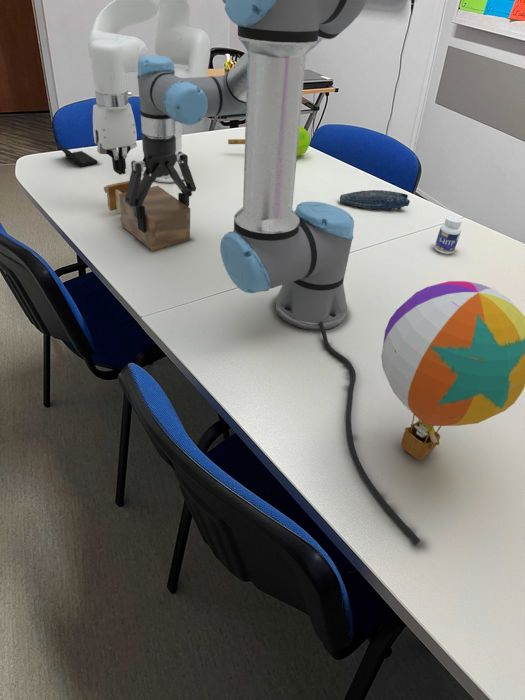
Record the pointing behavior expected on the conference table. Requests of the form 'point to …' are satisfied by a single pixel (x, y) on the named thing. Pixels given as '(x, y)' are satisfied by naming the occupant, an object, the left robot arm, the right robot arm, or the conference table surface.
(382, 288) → the conference table surface
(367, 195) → the fish model
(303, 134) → the decorative tree
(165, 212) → the wooden grain block
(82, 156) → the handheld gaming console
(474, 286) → the toy
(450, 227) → the pill bottle
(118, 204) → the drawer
